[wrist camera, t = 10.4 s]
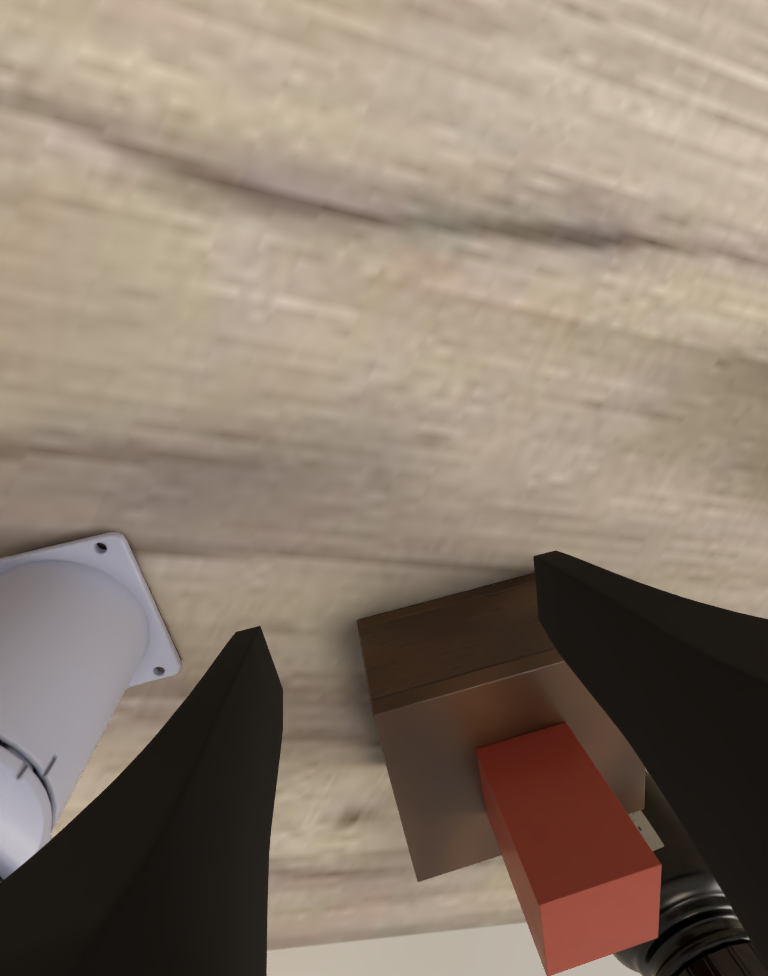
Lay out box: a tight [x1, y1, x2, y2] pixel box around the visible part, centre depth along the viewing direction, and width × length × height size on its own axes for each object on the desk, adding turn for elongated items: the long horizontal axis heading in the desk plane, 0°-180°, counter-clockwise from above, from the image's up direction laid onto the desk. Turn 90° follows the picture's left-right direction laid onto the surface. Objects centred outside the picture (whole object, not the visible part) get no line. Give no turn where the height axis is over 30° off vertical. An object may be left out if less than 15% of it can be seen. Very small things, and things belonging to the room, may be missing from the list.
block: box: [476, 722, 662, 976], centre depth 17 cm, size 4×4×6 cm
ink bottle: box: [613, 773, 768, 976], centre depth 26 cm, size 10×9×12 cm
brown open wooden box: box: [357, 573, 645, 882], centre depth 23 cm, size 12×11×6 cm
